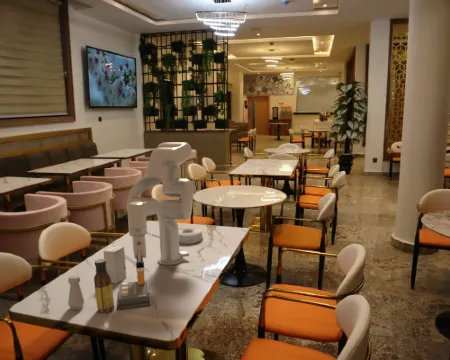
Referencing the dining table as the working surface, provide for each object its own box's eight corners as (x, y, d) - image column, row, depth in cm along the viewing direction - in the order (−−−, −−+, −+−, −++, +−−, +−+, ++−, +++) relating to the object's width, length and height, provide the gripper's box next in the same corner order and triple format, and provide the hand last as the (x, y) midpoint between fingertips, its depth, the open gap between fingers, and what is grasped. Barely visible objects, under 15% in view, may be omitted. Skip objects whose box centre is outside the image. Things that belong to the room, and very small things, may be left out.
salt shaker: (71, 304, 155) (68, 273, 153) (86, 303, 156) (83, 272, 153) (66, 312, 149) (63, 280, 147) (82, 311, 150) (79, 279, 148)
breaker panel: (148, 286, 170) (148, 277, 169) (150, 302, 155) (149, 292, 155) (120, 290, 167) (119, 280, 166) (118, 306, 153) (118, 296, 152)
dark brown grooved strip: (150, 303, 155) (150, 300, 155) (150, 305, 153) (150, 303, 153) (117, 307, 152) (117, 304, 152) (117, 310, 150) (117, 307, 150)
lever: (144, 282, 167) (143, 267, 165) (145, 284, 164) (144, 269, 163) (137, 282, 166) (136, 268, 165) (137, 285, 164) (136, 270, 163)
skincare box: (116, 284, 173) (114, 252, 170) (105, 282, 175) (102, 250, 172) (127, 276, 181) (124, 245, 178) (115, 275, 183) (113, 244, 180)
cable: (169, 238, 236) (169, 228, 235) (196, 233, 243) (196, 224, 242) (178, 246, 220) (178, 236, 219) (207, 241, 227) (207, 231, 226)
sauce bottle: (116, 305, 154) (112, 257, 151) (112, 313, 148) (108, 263, 144) (99, 305, 154) (95, 257, 150) (94, 313, 148) (90, 264, 144)
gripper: (147, 235, 160) (150, 277, 163) (146, 225, 174) (148, 264, 178) (128, 236, 158) (131, 279, 162) (129, 226, 173) (131, 265, 176)
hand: (140, 271), depth 170 cm, fingers closed
